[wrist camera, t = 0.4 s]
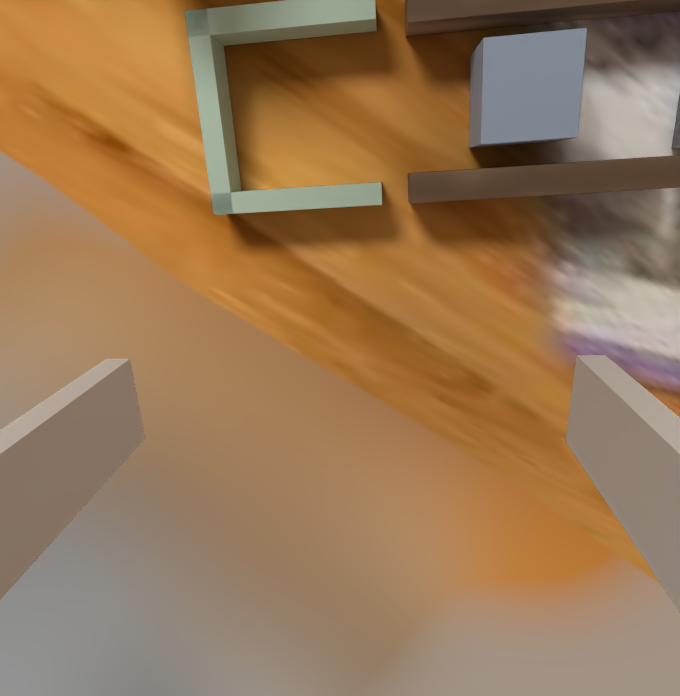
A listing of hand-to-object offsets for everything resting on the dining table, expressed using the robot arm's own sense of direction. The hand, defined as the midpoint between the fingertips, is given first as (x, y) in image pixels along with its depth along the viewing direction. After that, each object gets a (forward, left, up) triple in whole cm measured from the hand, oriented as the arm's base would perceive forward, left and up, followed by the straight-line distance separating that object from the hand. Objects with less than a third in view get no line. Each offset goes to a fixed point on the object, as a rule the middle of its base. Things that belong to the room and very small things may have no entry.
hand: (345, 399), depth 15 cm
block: (-11, +11, -27) cm, 31 cm away
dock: (-11, -5, -27) cm, 29 cm away
